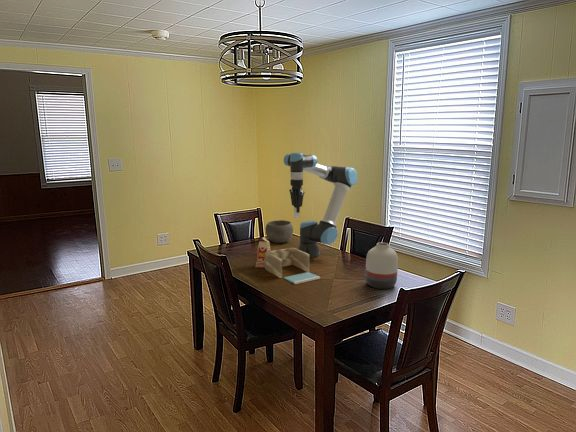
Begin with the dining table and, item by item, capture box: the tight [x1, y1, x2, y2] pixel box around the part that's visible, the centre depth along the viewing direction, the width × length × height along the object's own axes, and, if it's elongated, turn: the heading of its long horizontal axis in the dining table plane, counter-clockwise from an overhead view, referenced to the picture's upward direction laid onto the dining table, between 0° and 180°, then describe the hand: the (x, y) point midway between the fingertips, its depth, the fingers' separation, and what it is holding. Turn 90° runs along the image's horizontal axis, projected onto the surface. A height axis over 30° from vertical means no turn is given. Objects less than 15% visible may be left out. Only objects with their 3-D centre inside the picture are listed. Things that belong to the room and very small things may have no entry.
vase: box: [365, 241, 399, 290], centre depth 233 cm, size 17×17×24 cm
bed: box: [264, 247, 311, 279], centre depth 255 cm, size 20×18×12 cm
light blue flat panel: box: [281, 271, 321, 285], centre depth 243 cm, size 18×1×13 cm
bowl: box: [265, 219, 294, 244], centre depth 323 cm, size 21×21×15 cm
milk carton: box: [255, 236, 272, 269], centre depth 264 cm, size 9×9×20 cm
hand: (296, 217), depth 259 cm, fingers closed
